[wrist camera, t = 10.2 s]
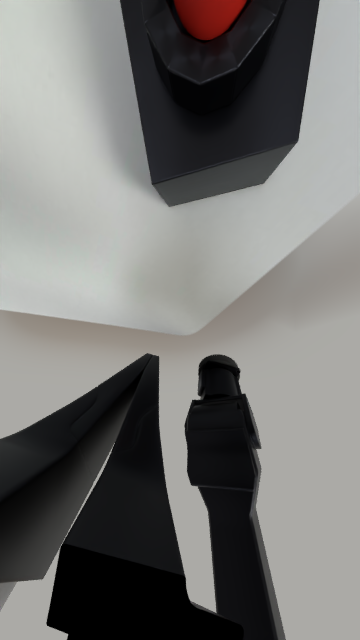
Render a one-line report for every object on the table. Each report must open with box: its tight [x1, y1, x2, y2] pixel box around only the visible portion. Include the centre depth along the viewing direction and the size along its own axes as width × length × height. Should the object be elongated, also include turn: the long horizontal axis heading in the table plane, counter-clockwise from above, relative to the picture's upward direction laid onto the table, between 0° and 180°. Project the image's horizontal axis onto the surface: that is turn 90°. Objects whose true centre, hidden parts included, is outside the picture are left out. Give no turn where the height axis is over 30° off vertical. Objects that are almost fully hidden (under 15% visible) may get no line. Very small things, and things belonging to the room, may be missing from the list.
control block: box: [120, 0, 320, 207], centre depth 9 cm, size 12×10×8 cm
